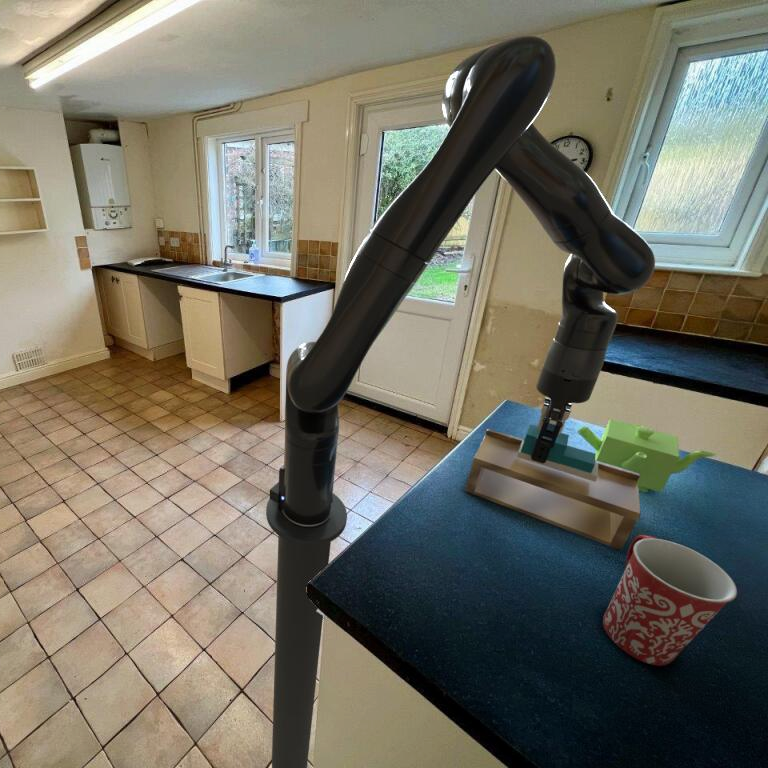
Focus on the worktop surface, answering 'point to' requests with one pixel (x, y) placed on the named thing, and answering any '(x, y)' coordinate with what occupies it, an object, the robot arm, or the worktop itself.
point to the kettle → (641, 452)
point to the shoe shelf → (556, 491)
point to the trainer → (561, 456)
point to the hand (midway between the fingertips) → (539, 453)
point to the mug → (664, 599)
